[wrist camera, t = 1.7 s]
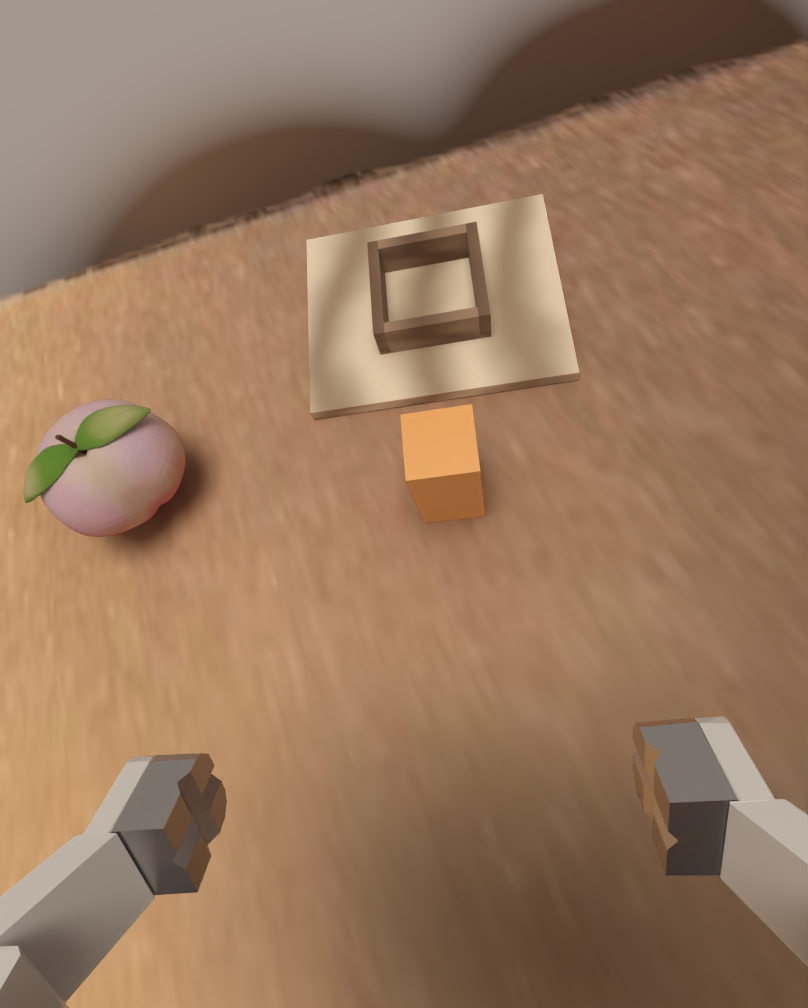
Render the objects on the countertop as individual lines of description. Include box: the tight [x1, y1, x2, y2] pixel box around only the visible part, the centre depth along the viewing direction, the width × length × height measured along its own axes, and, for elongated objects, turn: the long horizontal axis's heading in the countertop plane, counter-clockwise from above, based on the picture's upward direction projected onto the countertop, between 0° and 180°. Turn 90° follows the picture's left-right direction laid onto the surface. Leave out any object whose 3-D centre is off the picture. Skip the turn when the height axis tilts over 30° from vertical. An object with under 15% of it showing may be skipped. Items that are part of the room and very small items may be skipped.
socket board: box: [307, 194, 579, 419], centre depth 41 cm, size 19×16×4 cm
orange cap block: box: [400, 404, 485, 523], centre depth 34 cm, size 4×4×8 cm
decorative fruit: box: [24, 399, 186, 537], centre depth 37 cm, size 9×8×10 cm
